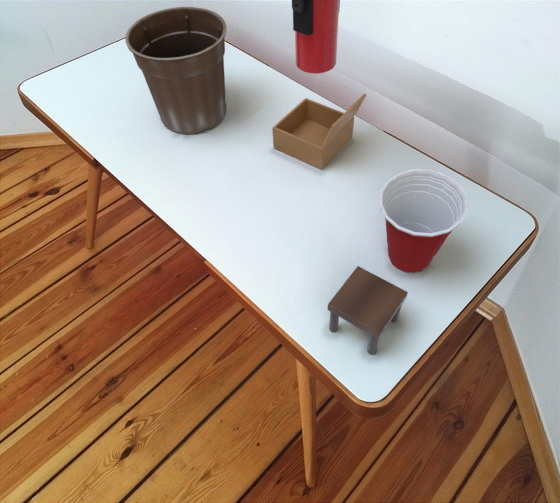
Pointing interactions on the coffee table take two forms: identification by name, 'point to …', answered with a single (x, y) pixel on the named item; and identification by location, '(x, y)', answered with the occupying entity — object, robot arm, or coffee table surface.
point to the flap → (344, 119)
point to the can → (319, 39)
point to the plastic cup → (420, 215)
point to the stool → (366, 304)
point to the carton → (311, 133)
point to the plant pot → (182, 65)
